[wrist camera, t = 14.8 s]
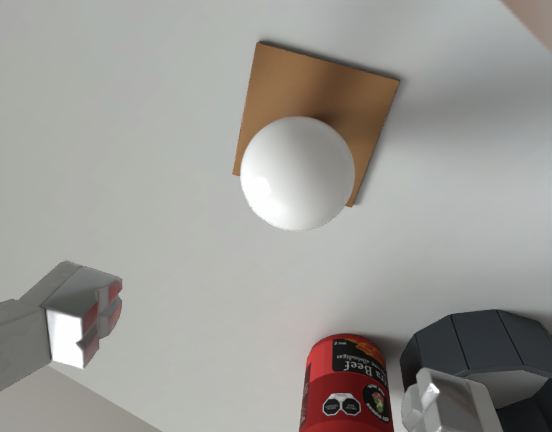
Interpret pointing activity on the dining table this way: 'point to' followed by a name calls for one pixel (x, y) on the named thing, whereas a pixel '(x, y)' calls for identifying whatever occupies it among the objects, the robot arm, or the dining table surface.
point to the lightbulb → (297, 173)
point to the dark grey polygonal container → (488, 358)
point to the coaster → (316, 101)
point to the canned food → (346, 387)
